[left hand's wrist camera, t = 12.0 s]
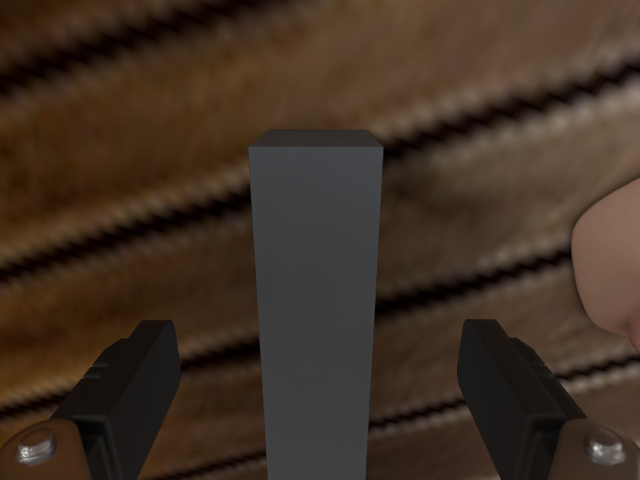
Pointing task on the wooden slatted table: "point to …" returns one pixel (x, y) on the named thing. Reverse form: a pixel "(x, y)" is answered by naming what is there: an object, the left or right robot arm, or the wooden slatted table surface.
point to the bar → (316, 296)
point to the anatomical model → (611, 262)
